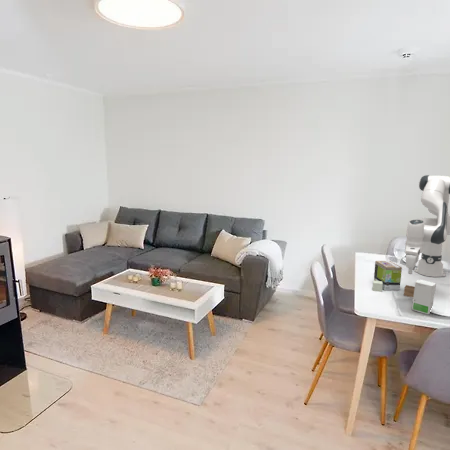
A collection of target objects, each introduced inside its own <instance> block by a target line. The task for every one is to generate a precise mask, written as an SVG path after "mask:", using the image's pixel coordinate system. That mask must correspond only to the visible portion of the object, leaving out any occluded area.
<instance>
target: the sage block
mask: <svg viewBox="0 0 450 450" xmlns="http://www.w3.org/2000/svg"><path fill="white" fill-rule="evenodd" d="M382 286H383V283H382V281H374V279H373V281H372V291H373V292H381V293H382V292H383V289H382Z"/></svg>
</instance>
